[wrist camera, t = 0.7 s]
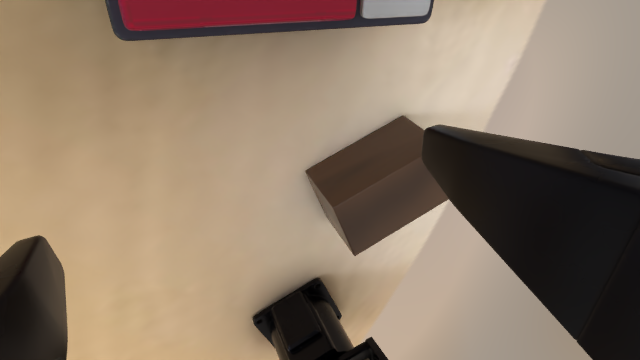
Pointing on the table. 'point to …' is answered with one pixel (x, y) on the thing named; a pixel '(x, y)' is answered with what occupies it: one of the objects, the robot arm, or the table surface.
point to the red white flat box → (255, 16)
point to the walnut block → (376, 185)
